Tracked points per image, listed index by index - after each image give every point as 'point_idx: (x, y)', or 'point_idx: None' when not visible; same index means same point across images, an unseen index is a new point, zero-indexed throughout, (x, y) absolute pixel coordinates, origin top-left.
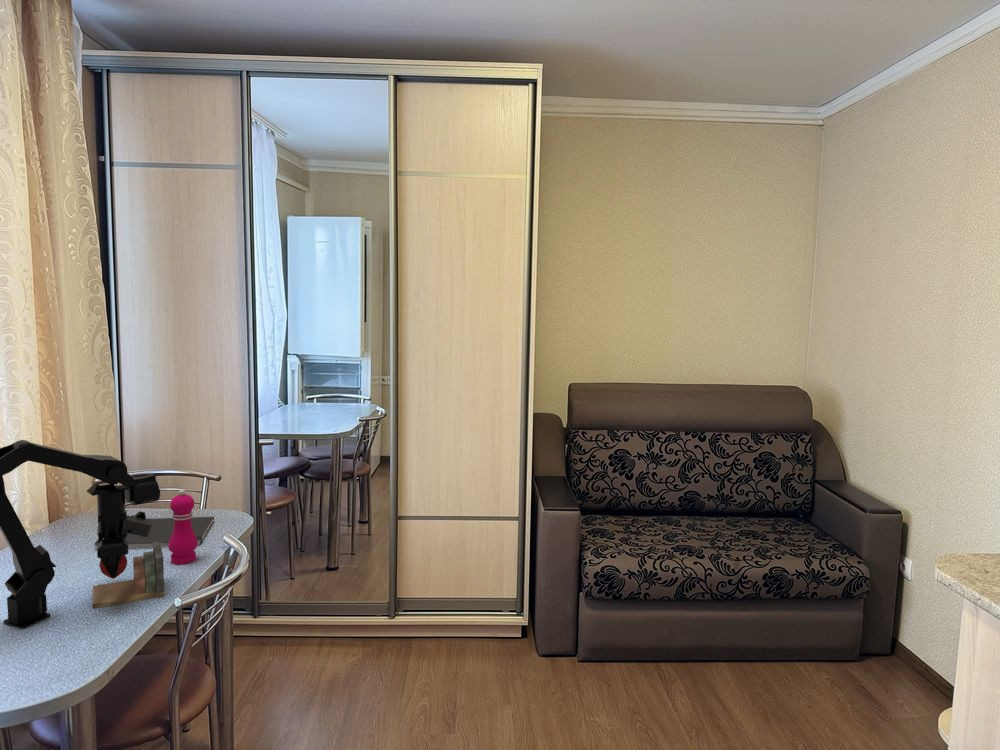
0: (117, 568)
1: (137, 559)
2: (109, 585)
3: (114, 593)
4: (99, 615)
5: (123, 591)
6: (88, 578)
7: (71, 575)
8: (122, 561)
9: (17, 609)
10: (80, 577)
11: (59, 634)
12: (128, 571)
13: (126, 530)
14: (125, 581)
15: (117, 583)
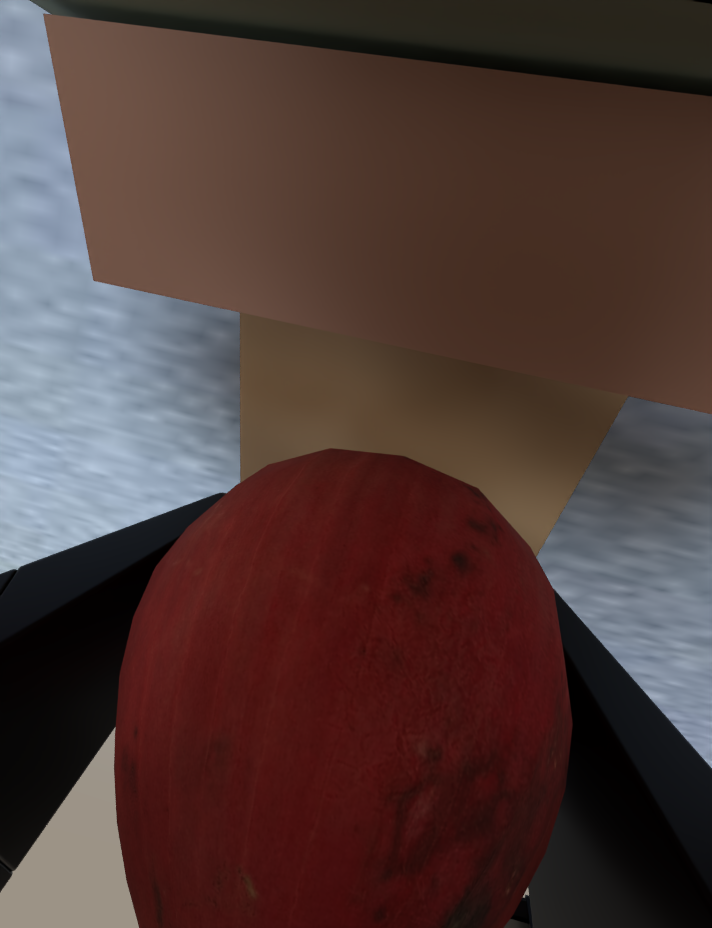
0: (650, 703)
1: (247, 219)
2: (278, 442)
3: (439, 455)
4: (651, 575)
5: (447, 396)
6: (94, 471)
7: (45, 513)
8: (561, 677)
9: None
10: (74, 494)
11: (698, 729)
12: (23, 246)
13: None
14: (253, 332)
15: (267, 391)
